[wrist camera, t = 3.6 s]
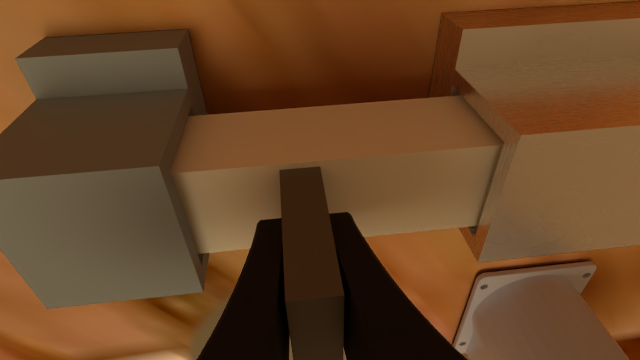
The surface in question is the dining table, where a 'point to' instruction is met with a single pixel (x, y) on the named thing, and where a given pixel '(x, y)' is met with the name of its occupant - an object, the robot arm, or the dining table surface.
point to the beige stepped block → (551, 123)
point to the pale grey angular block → (331, 188)
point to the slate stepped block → (101, 169)
